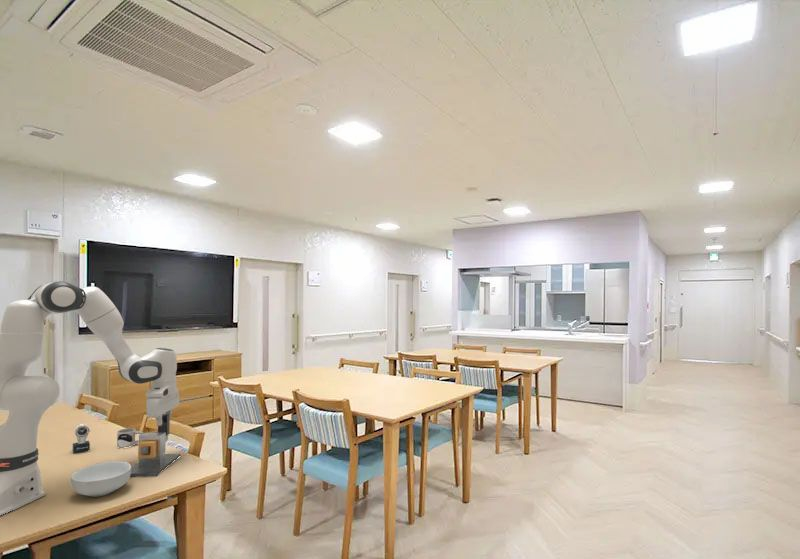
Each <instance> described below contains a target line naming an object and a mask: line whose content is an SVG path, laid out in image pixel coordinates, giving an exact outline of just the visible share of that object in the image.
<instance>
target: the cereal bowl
mask: <svg viewBox="0 0 800 559" xmlns="http://www.w3.org/2000/svg"><path fill="white" fill-rule="evenodd" d="M131 467H132V465H131V464H130V463H129V462H125V461H118V460H117V461H105V462H100V463H95V464H92V465H91V464H90V465H88V466H85V467H82V468H79V469H78V470H75V472H73V473H72V474H71V476H70V483H71V488H72V489H73V491H74V492H75V493H77V494H79V495H82V496H88V497H93V498H94V497H95V498H97V497H102V496H106V495H110V494H111V493H114V492H115V491H116V490H119V489H120V488H121V487H123V486H124V485H125V484H126V483H127V482H128V480H130V478H131V477H130V475H131Z"/></svg>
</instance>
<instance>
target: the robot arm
mask: <svg viewBox="0 0 800 559" xmlns="http://www.w3.org/2000/svg"><path fill="white" fill-rule="evenodd" d="M71 311H73V312H75V313H76V314H77V315H78V316H80V318H81V319H82V322H83V323H84V324H85V325H86V326H87V328H88V329H89V330H90V331H91V332H92V334H94V335H95V336H96V337H97V338H98V339H100V340H101V341H102V342H103V343H104V344H105V345H106V346H107V349H109V352H110V353H111V354H112V356H113V357H114V358H115V359H116V360H115V361H116V362H117V366H118V367H117V368H118V373H119V375H120V377H122V379H124V380H125V381H128V382H132V383H134V384H138V385H141V384H142V385H143V384H145V383H150V382H151V385H150V387H149V388H148V390H146V391H145V397H146V398H147V399H146V403H145V405H146V406H145V407H146V412H145V414H146V417H147V418H150V419H152V418H155V421H156V426H157V427H158V426H161V425H163V420H162V414H170V419H171V416H172V413H173V409H175V408H177V407H178V406H179V405H180V394H179V393H180V392H179V389H178V388H177V385H178V384H177V382H178V381H177V376H176V374H177V369H178V361H177V360H178V359H177V353H176V351H175V350H173V349H170V348H166V347H165V348H164V347H157V348H154V350H152V351H151V352H149V353H147V354H145V355H143V356H140V355H138V354H136V353H135V352H134V350H133V349H132V348H131V346H130V345H129V343H128V342H127V340H126V339H125V337H124V334H123V328H124V324H125V322H124V320H123V317H122V314H121V312H120V311H119V309H118V308H117V306H116V305H115V304H114V302H113V301H112V300H111V299H110V298H109V296H107V294H106V293H105V292H104V291H103V290H102V289H100V288H99V287H98V286H86V287H83V288H81V287H78V286H77V285H74V284H73V283H71V282H68V281H50V282H46V283H45V284H41V285H40V286H38V287H36V289H35V290H34V291H33V293H31V295H29V297H28V298H27V299H18V300H15V301H11V302H10V303H8V305H6V307H5V310H4V314H3V316H2V321H1V324H0V411H8V415H7V416H8V417H7V419H6V421H5V422H4V423H2V424H1V425H0V515H2V516H4V515H6V514H8V512H9V513H11V512H12V510H13V511H15V510H17V509H19V508H22V507H23V506H25V505H27V504H30V503H32V502H33V501H36V500H39V499H40V498H43V497H45V496H46V495H45V491H44V490H43V488H42V486H43V485H42V476H41V470H40V468H39V465H38V461H39V454H40V453H39V448H37V447H38V446H37V445H38V444H37V443H38V431H39V426H40V421H41V419H42V417H43V416H44V414H45V412H46V411H47V410H48V409H50V407H52V406H54V404H55V403H56V402H57V400H58V399H59V397H60V392H61V387H60V384H59V383H58V381H57V380H55V378H50V377H46V376H42V375H25V374H26V371H27V370H28V368H29V367H30V365H31V364H32V363H35V361H37V360H39V358H40V357H41V356H42V351H43V340H44V339H43V338H44V327H45V326H44V325H45V321H46V320H47V317H48V316H49V315H51V314H52V315H54V314H57V315H58V314H62V313H69V312H71ZM10 511H11V512H10ZM5 513H6V514H5ZM3 514H4V515H3Z"/></svg>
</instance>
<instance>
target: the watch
mask: <svg viewBox="0 0 800 559" xmlns="http://www.w3.org/2000/svg"><path fill="white" fill-rule="evenodd" d="M90 432H91V429H90V428H89V426H88V425H87V424H86V423H80V424H77V426H76V428H75V431H74V433H75V436H76V440H77V442H74V443H72V453H73V454H79V453H84V451H85V452H89V451H88V450H90V449H91V447H90V446H91V442H90V441H89V440H87V438H88V436H89V434H90Z"/></svg>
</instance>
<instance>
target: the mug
mask: <svg viewBox="0 0 800 559" xmlns="http://www.w3.org/2000/svg"><path fill="white" fill-rule="evenodd" d="M143 433H144V431H140V430H138V431H137V430H136V428H133V427H132V428H123V429H119V430H117V434H116V436H117V438H116V448H117V447H119V448H118V449H120V448H123V449H125V448H124V447H129V446H133V445H134V444H135V445H136V444H138V443H139V440H136V435H141V434H143ZM135 445H134V446H135ZM134 446H133V447H134ZM129 448H130V447H129Z"/></svg>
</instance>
